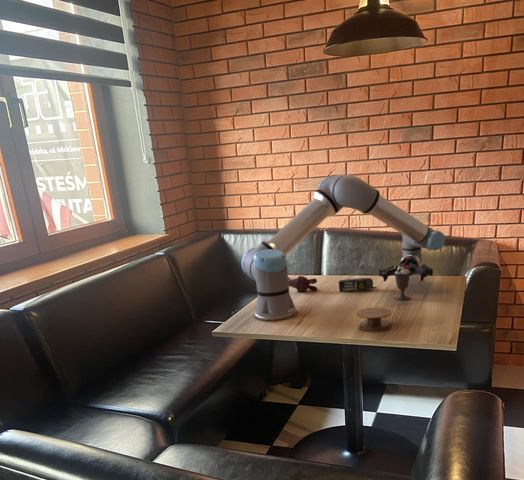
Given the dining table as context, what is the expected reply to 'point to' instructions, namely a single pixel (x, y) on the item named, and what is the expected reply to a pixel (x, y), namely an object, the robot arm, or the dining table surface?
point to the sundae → (402, 280)
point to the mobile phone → (356, 284)
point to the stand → (374, 319)
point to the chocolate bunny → (302, 284)
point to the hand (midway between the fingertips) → (403, 277)
